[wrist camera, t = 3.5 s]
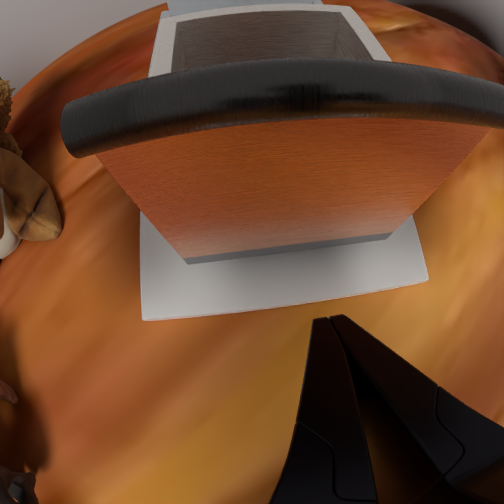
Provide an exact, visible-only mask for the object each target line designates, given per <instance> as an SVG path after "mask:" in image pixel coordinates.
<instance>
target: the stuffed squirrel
mask: <svg viewBox="0 0 504 504" xmlns="http://www.w3.org/2000/svg"><path fill="white" fill-rule="evenodd" d="M8 83H9V80H8V81H3V80H2V79H1V77H0V259H2V258H5V257H7V256H8V255H9V254H10V253H12V252H13V251H14V250H15V249H16V248H17V246H18V245H19V243H20V241H21V240H22V239H25V240H30V241H47V240H54V239H57V238H58V236H59V234H60V233H61V231H62V225H61V217H60V213H59V210H58V207H57V204H56V200H55V198H54V195H53V191H52V190H51V187H50V186H49V184H48V183H47V181H46V180H44V179H43V178H42V177H41V176H40V175H39V174H38V173H37V172H35V171H34V170H33V169H32V168H31V167H30V166H29V165H28V164H27V163H26V162H25V161H24V160H23V159H22V157H21V155H22V150H20V149H19V148H18V144H17V143H16V141H15V139H14V137H13V135H11V133H9V134H6V133H5V129H6V128H7V125H8V124H9V123H8V122H9V121H10V120H11V116H10V115H9V113H10V112H11V108H10V107H11V104H12V103H13V102H12V101H11V95H12V93H11V92H12V91H13V90H15V88H11V89H10V88H9V87H10V86H9V84H8Z"/></svg>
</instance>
